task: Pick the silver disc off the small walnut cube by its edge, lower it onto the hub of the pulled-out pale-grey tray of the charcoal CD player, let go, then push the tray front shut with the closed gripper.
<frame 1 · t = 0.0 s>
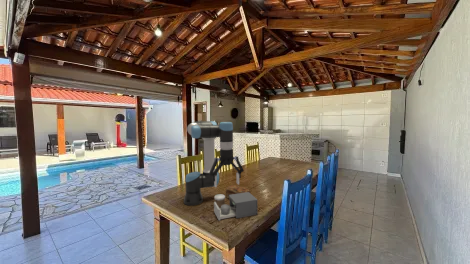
hand: (226, 185, 111), 28 cm above the table, fingers open, 13 cm apart
player housing: (242, 211, 137), on the table
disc: (219, 198, 146), point 6 cm above the table, touching riser cube
bread: (238, 198, 160), on the table
riser cube: (219, 205, 146), on the table
tray: (227, 208, 133), point 4 cm above the table, slide at 10.5 cm
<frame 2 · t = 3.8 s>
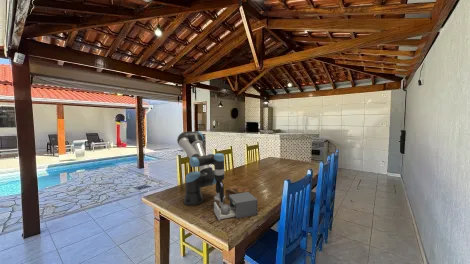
hand: (219, 203, 146), 2 cm above the table, fingers closed on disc, 8 cm apart
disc: (219, 198, 146), point 6 cm above the table, touching gripper, riser cube
everything else where it was.
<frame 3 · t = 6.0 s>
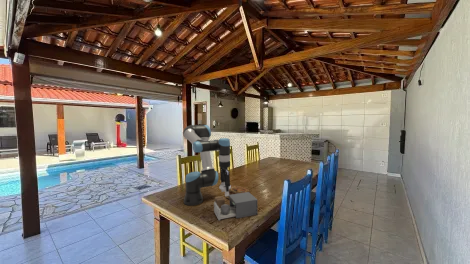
hand: (225, 193, 132), 15 cm above the table, fingers closed on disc, 8 cm apart
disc: (225, 187, 131), point 19 cm above the table, touching gripper
everything else where it was.
when the fingers open (4 cm above the table, at t = 8.5 s): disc drops 2 cm, resting on tray.
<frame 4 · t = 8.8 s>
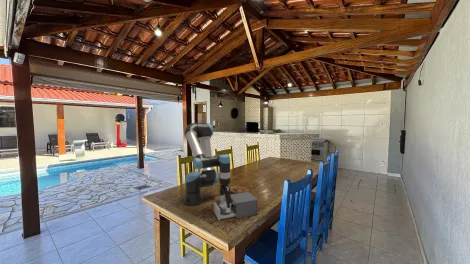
hand: (225, 207, 132), 5 cm above the table, fingers open, 12 cm apart
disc: (225, 206, 132), point 6 cm above the table, touching tray
tray: (227, 208, 133), point 4 cm above the table, slide at 10.5 cm, touching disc
everything else where it was.
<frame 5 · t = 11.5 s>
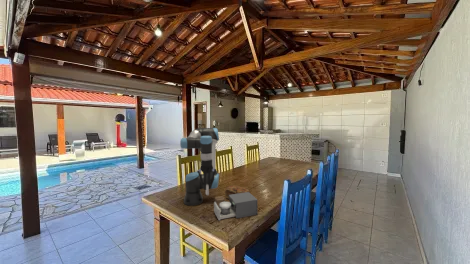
hand: (207, 194, 127), 16 cm above the table, fingers closed
nothing on the table moved.
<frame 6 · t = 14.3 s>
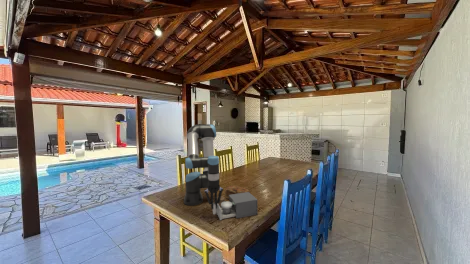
hand: (214, 213, 130), 2 cm above the table, fingers closed
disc: (226, 206, 133), point 6 cm above the table, touching tray
tray: (228, 208, 133), point 4 cm above the table, slide at 9.5 cm, touching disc, gripper
everything else where it was.
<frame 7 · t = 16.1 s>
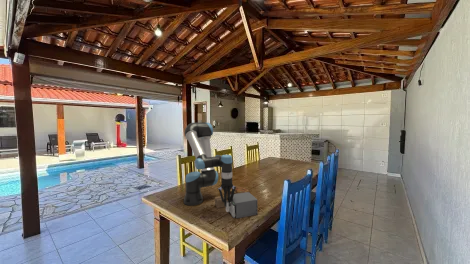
hand: (227, 210, 133), 3 cm above the table, fingers closed
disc: (239, 203, 136), point 6 cm above the table, touching tray
tray: (240, 206, 136), point 4 cm above the table, slide at 0.3 cm, touching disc
everything else where it was.
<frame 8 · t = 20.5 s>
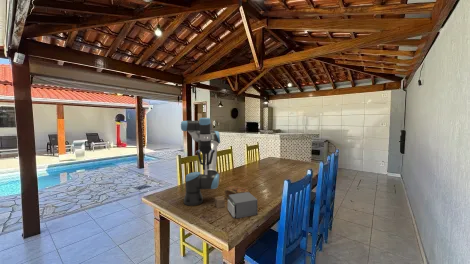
hand: (205, 174, 132), 28 cm above the table, fingers closed
at the end: tray slide at 0.3 cm; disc inside the target area on the player housing (2.8 cm from its centre), point 6.0 cm above the player housing's base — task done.
